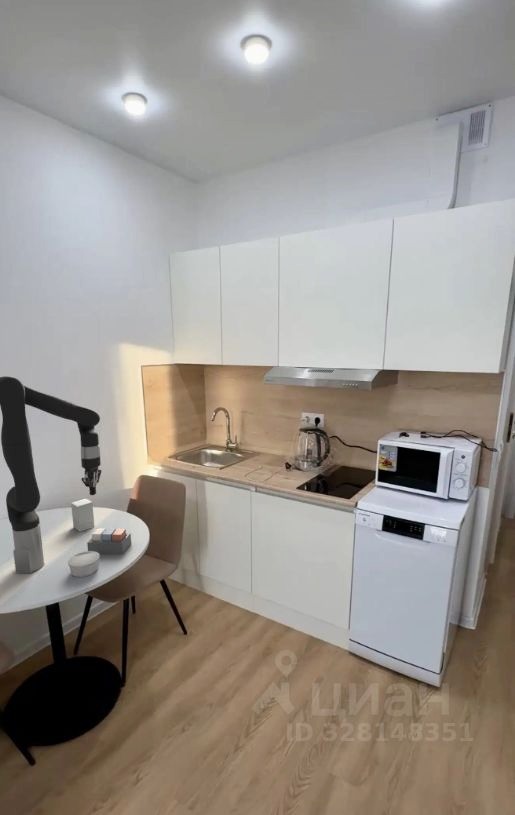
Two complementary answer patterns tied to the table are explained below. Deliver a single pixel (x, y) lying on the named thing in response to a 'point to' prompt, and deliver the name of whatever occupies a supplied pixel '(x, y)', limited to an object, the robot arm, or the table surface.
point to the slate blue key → (108, 534)
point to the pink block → (119, 535)
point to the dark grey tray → (110, 546)
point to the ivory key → (97, 534)
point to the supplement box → (82, 514)
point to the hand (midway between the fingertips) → (93, 494)
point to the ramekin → (84, 563)
